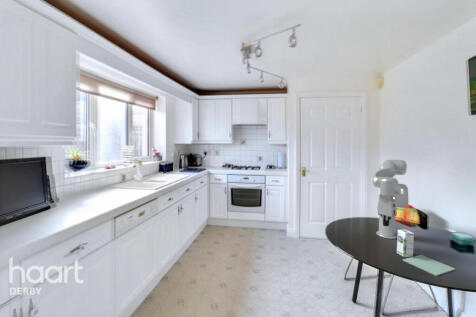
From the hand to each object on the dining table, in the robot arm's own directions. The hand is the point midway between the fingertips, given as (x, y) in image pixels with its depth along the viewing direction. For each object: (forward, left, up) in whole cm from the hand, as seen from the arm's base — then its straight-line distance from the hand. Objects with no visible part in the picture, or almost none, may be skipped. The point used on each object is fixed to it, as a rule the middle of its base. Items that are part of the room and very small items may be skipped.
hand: (385, 225), depth 140 cm
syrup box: (0, +12, -14) cm, 18 cm away
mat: (0, +24, -14) cm, 27 cm away
